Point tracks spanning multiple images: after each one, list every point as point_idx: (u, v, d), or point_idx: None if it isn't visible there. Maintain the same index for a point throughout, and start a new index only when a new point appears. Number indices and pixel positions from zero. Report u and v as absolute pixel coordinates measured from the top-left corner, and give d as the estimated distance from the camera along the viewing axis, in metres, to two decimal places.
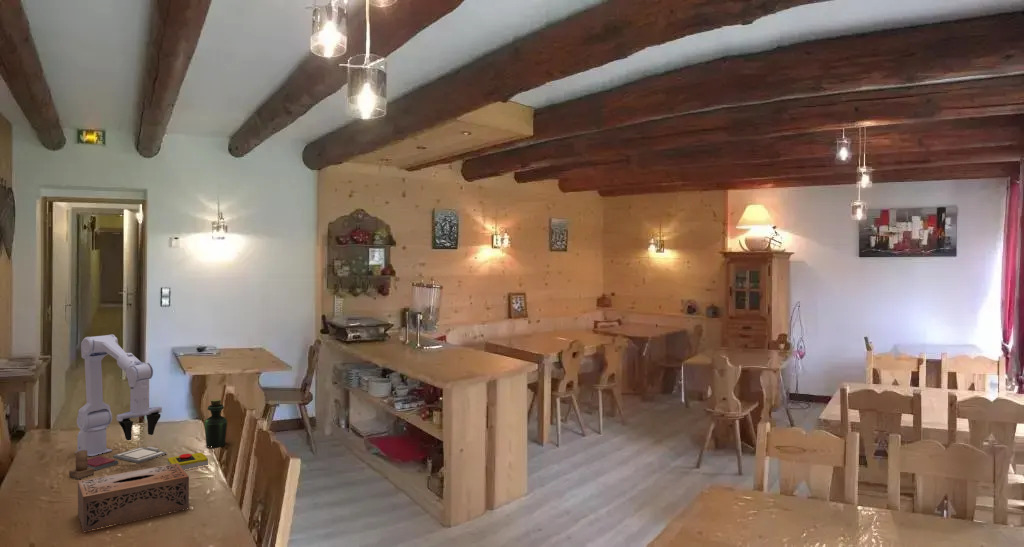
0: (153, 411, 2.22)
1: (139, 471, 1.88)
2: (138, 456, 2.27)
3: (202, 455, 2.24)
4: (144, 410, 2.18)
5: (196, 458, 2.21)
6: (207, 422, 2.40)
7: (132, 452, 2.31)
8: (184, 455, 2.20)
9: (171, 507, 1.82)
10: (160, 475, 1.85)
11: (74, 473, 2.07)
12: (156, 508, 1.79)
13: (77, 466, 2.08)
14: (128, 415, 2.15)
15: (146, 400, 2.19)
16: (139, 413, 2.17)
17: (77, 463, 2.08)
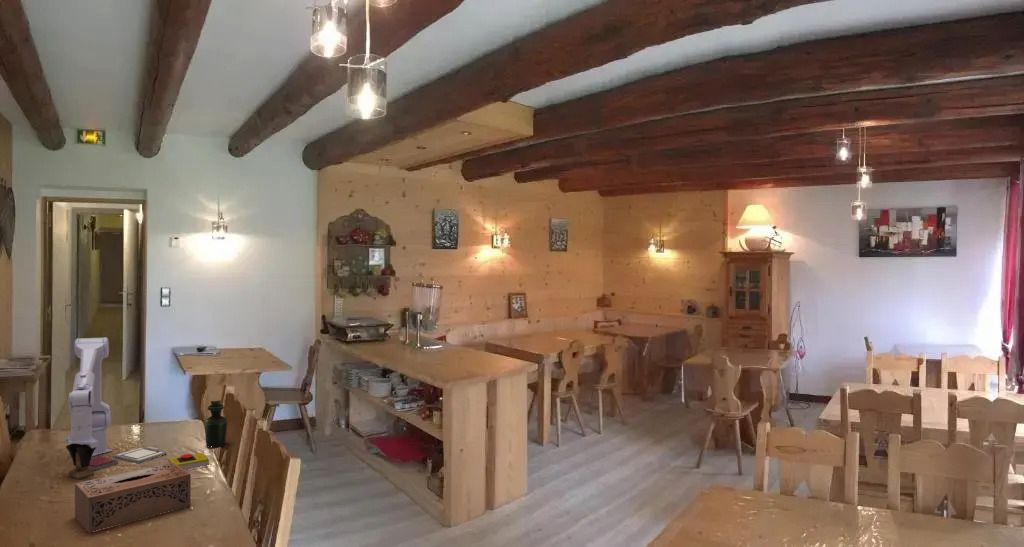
0: (82, 443, 2.06)
1: (136, 471, 1.87)
2: (138, 456, 2.27)
3: (203, 455, 2.24)
4: (72, 439, 2.06)
5: (197, 459, 2.20)
6: (207, 422, 2.40)
7: (132, 452, 2.31)
8: (185, 455, 2.20)
9: (174, 505, 1.84)
10: (160, 474, 1.86)
11: (74, 473, 2.07)
12: (159, 506, 1.81)
13: (77, 466, 2.08)
14: (68, 438, 2.09)
15: (74, 429, 2.06)
16: (70, 440, 2.07)
17: (77, 463, 2.08)
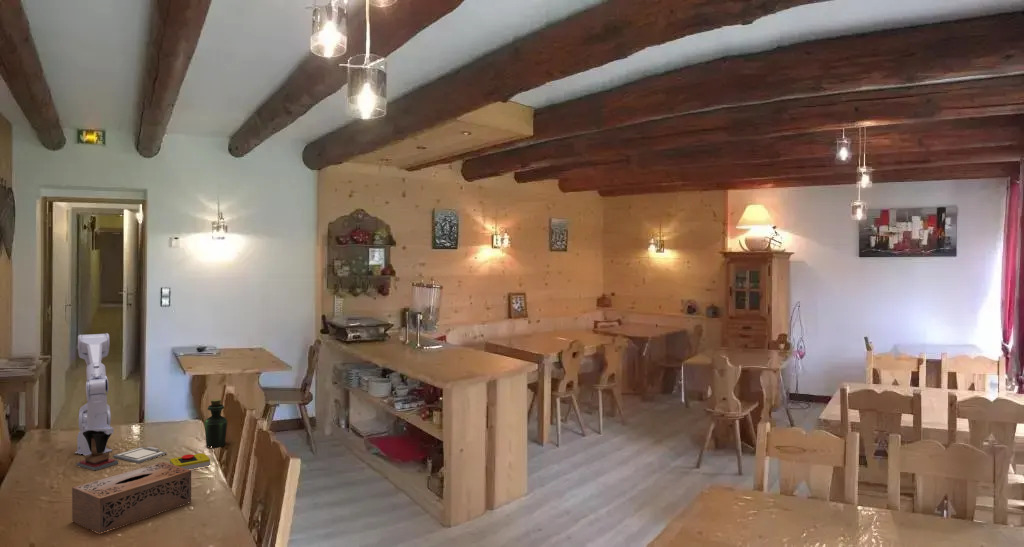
0: (98, 430, 2.16)
1: (131, 472, 1.87)
2: (138, 456, 2.27)
3: (204, 456, 2.24)
4: (89, 426, 2.17)
5: (198, 459, 2.20)
6: (207, 422, 2.40)
7: (132, 452, 2.31)
8: (186, 456, 2.20)
9: (176, 501, 1.86)
10: (159, 472, 1.87)
11: (90, 458, 2.17)
12: (163, 504, 1.82)
13: (93, 451, 2.18)
14: (84, 426, 2.20)
15: (90, 416, 2.17)
16: (86, 427, 2.18)
17: (93, 448, 2.18)
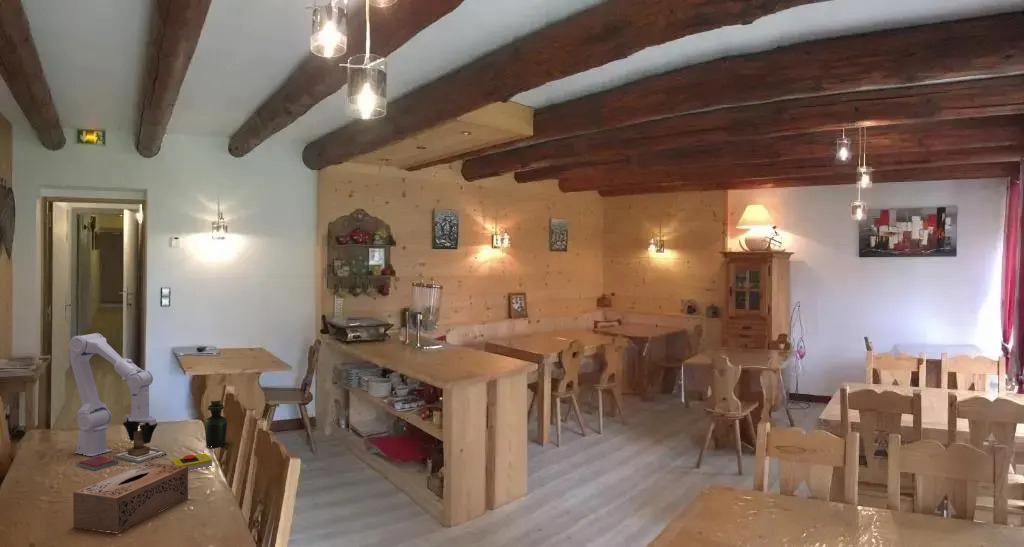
0: (142, 421, 2.27)
1: (124, 474, 1.85)
2: (138, 456, 2.27)
3: (206, 456, 2.23)
4: (132, 417, 2.27)
5: (200, 460, 2.19)
6: (207, 422, 2.40)
7: None
8: (188, 456, 2.19)
9: (176, 497, 1.89)
10: (156, 471, 1.88)
11: (132, 451, 2.27)
12: (166, 500, 1.85)
13: (135, 445, 2.28)
14: (127, 417, 2.30)
15: (134, 408, 2.27)
16: (130, 418, 2.28)
17: (135, 442, 2.28)
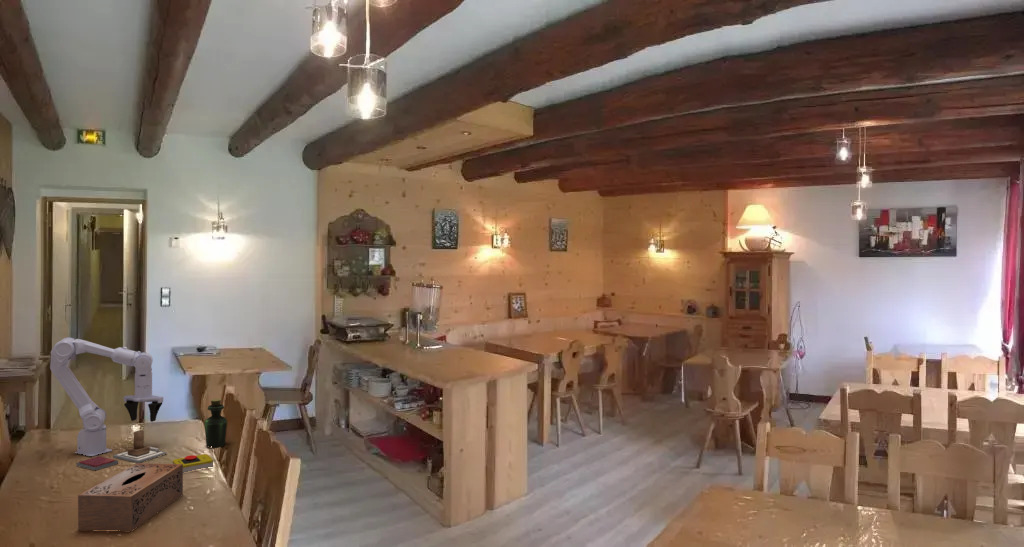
0: (149, 399, 2.37)
1: (119, 475, 1.84)
2: (138, 456, 2.27)
3: (207, 457, 2.23)
4: (138, 396, 2.36)
5: (201, 460, 2.19)
6: (207, 422, 2.40)
7: None
8: (189, 457, 2.19)
9: (174, 495, 1.91)
10: (152, 470, 1.89)
11: (132, 451, 2.27)
12: (167, 498, 1.87)
13: (135, 445, 2.28)
14: (129, 398, 2.38)
15: (140, 388, 2.36)
16: (135, 398, 2.37)
17: (135, 442, 2.28)
